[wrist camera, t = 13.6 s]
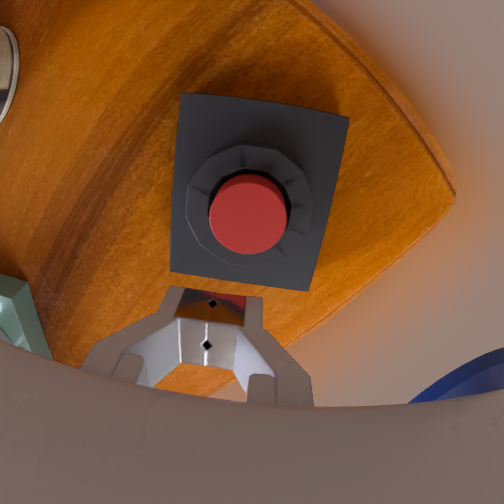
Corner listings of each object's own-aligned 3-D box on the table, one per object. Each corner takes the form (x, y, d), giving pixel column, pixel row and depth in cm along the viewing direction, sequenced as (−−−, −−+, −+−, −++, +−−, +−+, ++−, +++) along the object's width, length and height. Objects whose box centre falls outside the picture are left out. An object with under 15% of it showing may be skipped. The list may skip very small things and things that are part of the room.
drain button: (278, 243, 17) (279, 259, 15) (211, 234, 17) (206, 248, 15) (290, 179, 15) (293, 188, 13) (218, 168, 15) (213, 177, 13)
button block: (304, 274, 22) (311, 309, 18) (177, 255, 21) (161, 287, 18) (340, 116, 17) (359, 119, 13) (190, 93, 16) (171, 91, 13)
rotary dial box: (60, 376, 30) (50, 394, 27) (6, 353, 30) (-5, 368, 27) (28, 281, 24) (10, 300, 21) (-28, 264, 23) (-45, 278, 21)
